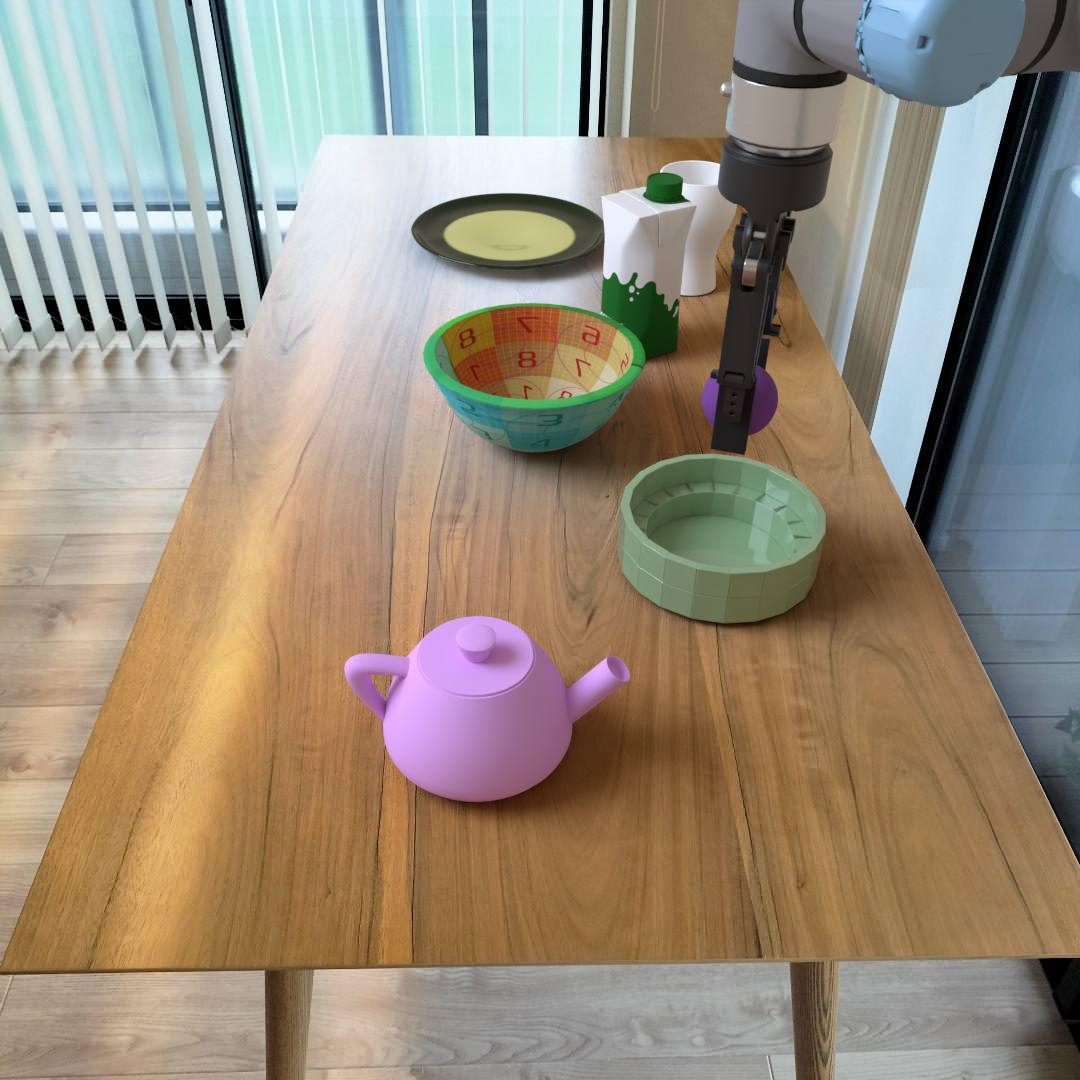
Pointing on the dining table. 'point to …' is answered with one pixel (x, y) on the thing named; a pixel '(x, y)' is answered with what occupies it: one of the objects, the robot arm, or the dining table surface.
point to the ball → (762, 403)
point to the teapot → (478, 708)
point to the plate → (509, 231)
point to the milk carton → (646, 259)
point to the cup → (702, 223)
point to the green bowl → (720, 537)
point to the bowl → (534, 372)
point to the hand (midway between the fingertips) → (735, 428)
